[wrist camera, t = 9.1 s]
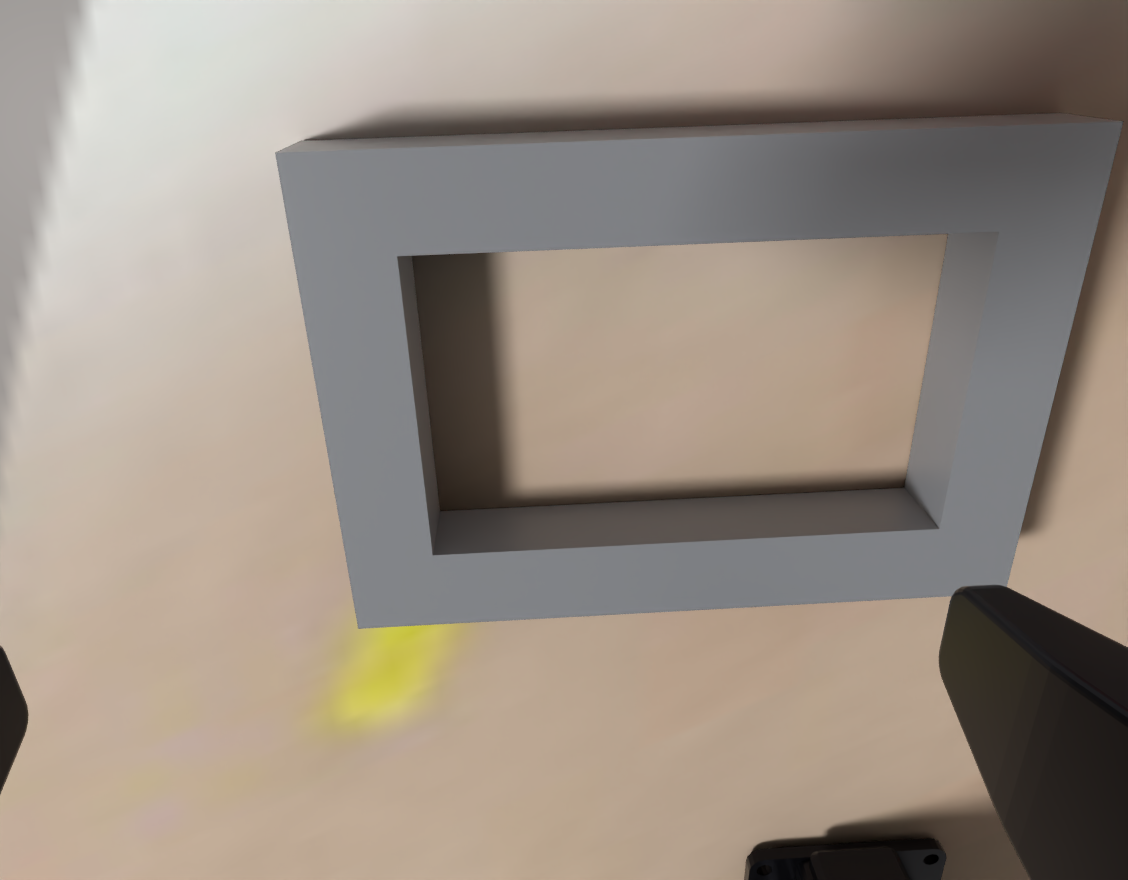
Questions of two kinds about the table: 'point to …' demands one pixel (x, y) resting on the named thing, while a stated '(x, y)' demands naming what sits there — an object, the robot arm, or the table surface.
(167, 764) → the table surface
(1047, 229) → the block
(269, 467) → the table surface
